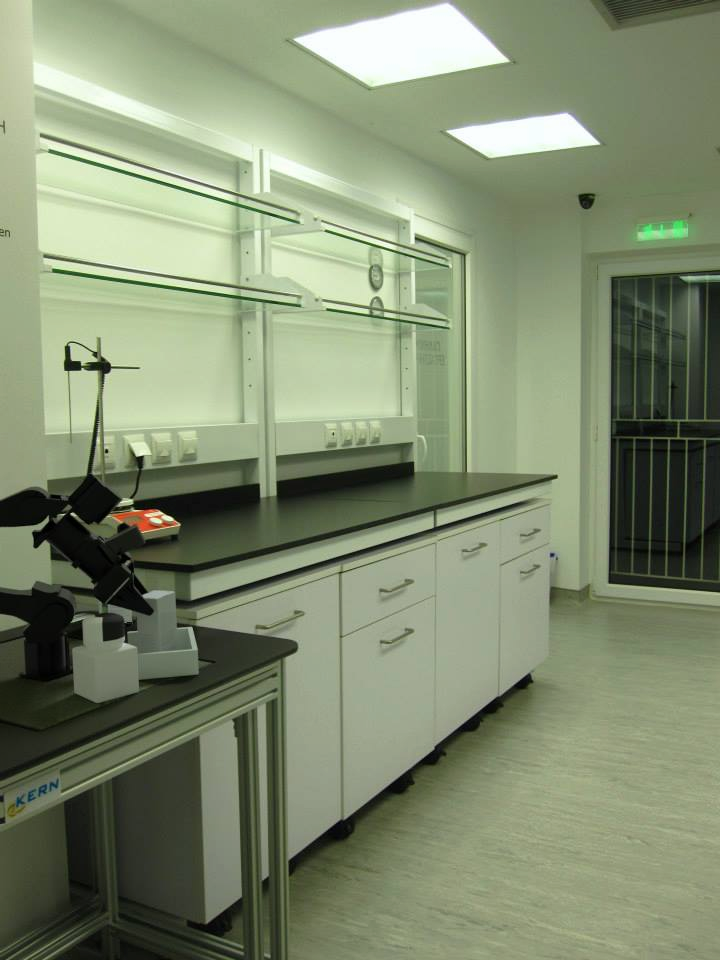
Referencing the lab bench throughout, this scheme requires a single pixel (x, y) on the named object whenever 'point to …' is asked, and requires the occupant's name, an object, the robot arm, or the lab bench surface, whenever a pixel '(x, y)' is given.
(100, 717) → the lab bench surface
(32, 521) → the robot arm
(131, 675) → the medicine bottle
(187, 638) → the open box
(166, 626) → the skincare box
